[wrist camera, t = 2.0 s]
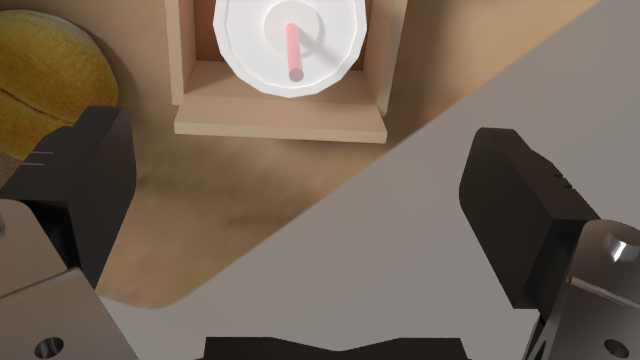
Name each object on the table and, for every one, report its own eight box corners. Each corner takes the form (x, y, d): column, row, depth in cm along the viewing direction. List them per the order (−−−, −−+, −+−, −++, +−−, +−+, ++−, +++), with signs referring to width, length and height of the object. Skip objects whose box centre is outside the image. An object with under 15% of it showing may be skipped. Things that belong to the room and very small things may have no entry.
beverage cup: (355, 11, 28) (412, 124, 17) (256, 48, 29) (245, 180, 18) (320, -105, 25) (361, -63, 13) (209, -60, 26) (159, 17, 14)
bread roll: (144, 65, 29) (128, 93, 26) (71, 163, 33) (48, 199, 29) (4, -33, 26) (-34, -15, 23) (-62, 88, 29) (-105, 119, 26)
